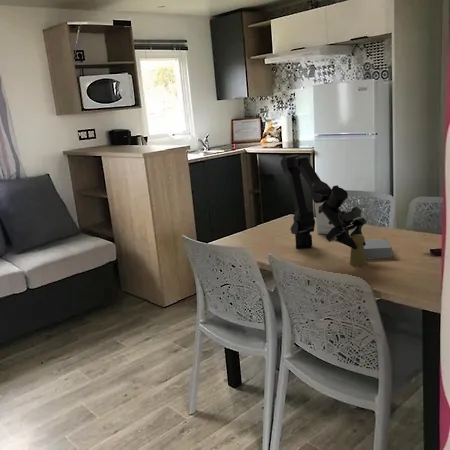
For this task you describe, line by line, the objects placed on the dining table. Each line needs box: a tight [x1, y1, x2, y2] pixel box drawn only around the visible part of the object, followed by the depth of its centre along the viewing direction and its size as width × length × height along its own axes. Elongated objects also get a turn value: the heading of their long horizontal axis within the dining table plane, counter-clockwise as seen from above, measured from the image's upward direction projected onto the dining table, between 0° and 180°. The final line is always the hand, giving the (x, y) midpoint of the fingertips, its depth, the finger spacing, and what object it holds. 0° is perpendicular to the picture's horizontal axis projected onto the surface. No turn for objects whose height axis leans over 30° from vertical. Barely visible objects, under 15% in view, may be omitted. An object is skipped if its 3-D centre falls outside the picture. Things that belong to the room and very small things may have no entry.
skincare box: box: [314, 202, 334, 235], centre depth 228 cm, size 8×7×16 cm
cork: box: [349, 234, 367, 267], centre depth 182 cm, size 6×6×11 cm
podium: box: [364, 238, 393, 260], centre depth 193 cm, size 12×12×4 cm
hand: (360, 247), depth 181 cm, fingers closed on cork, 5 cm apart
